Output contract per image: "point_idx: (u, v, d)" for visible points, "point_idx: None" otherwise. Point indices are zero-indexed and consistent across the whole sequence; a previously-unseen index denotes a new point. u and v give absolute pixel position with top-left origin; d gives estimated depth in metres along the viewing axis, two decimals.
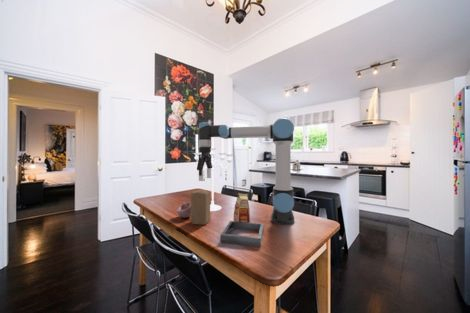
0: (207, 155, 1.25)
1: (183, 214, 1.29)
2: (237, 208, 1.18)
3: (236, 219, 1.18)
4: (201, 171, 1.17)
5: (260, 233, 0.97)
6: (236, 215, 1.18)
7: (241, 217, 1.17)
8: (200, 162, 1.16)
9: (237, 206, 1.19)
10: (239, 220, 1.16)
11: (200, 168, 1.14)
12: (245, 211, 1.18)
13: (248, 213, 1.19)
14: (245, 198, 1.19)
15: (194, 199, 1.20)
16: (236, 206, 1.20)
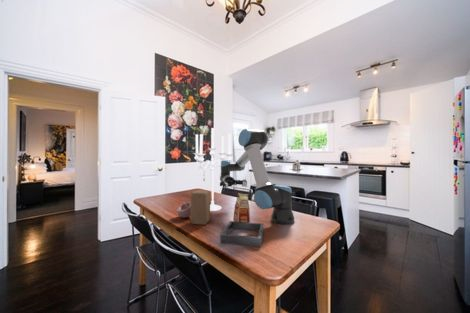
0: None
1: (183, 214, 1.29)
2: (237, 208, 1.18)
3: (236, 219, 1.18)
4: (223, 183, 1.33)
5: (260, 233, 0.97)
6: (236, 215, 1.18)
7: (241, 217, 1.17)
8: None
9: (237, 206, 1.19)
10: (239, 220, 1.16)
11: None
12: (245, 211, 1.18)
13: (248, 213, 1.19)
14: (245, 198, 1.19)
15: (194, 199, 1.20)
16: (236, 206, 1.20)
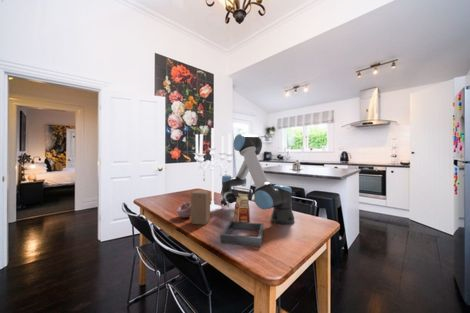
0: None
1: (183, 214, 1.29)
2: (237, 208, 1.18)
3: (236, 219, 1.18)
4: (225, 202, 1.30)
5: (260, 233, 0.97)
6: (236, 215, 1.18)
7: (241, 217, 1.17)
8: None
9: (237, 206, 1.19)
10: (239, 220, 1.16)
11: None
12: (245, 210, 1.18)
13: (248, 213, 1.19)
14: (245, 198, 1.19)
15: (194, 199, 1.20)
16: (236, 206, 1.20)
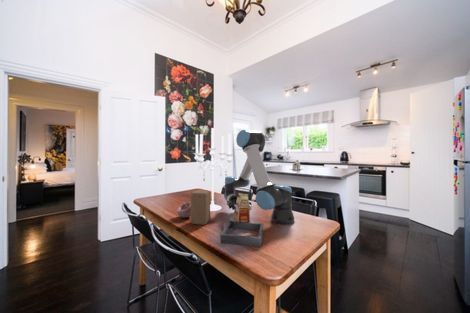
0: None
1: (183, 214, 1.29)
2: None
3: (236, 219, 1.18)
4: (233, 205, 1.20)
5: (260, 233, 0.97)
6: (236, 215, 1.18)
7: (241, 217, 1.17)
8: (228, 204, 1.25)
9: None
10: (239, 220, 1.16)
11: (229, 204, 1.21)
12: (245, 210, 1.18)
13: (248, 213, 1.19)
14: (245, 198, 1.19)
15: (194, 199, 1.20)
16: None
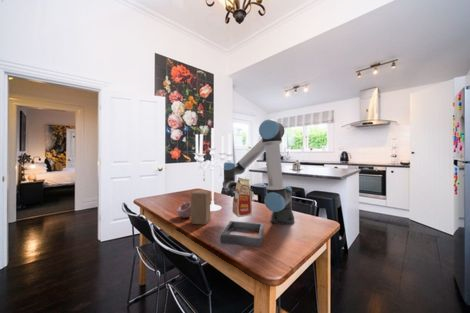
0: None
1: (183, 214, 1.29)
2: None
3: (235, 207, 1.01)
4: (232, 192, 1.04)
5: (260, 233, 0.97)
6: (235, 203, 1.02)
7: (241, 205, 1.00)
8: None
9: (237, 192, 1.02)
10: (239, 208, 0.99)
11: (227, 191, 1.05)
12: (246, 198, 1.01)
13: (249, 201, 1.02)
14: (246, 183, 1.03)
15: (194, 199, 1.20)
16: None
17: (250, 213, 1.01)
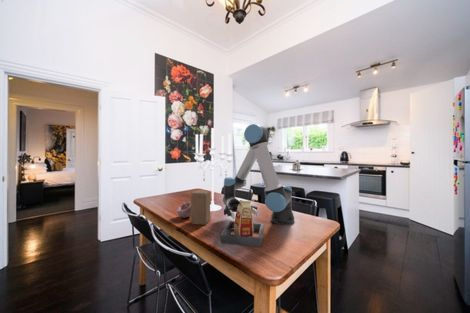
0: None
1: (183, 214, 1.29)
2: (238, 218, 1.01)
3: (237, 231, 1.00)
4: (229, 211, 1.03)
5: (260, 233, 0.97)
6: (237, 226, 1.01)
7: (243, 228, 0.99)
8: None
9: (238, 215, 1.01)
10: (241, 232, 0.98)
11: None
12: (248, 221, 1.00)
13: (251, 224, 1.01)
14: (248, 206, 1.02)
15: (194, 199, 1.20)
16: (237, 215, 1.02)
17: None
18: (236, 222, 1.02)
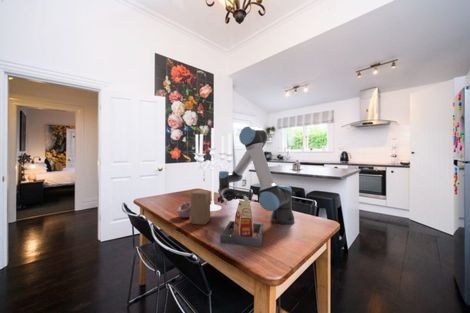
0: None
1: (183, 214, 1.29)
2: (238, 218, 1.01)
3: (237, 231, 1.00)
4: (222, 199, 1.16)
5: (260, 233, 0.97)
6: (237, 226, 1.01)
7: (243, 229, 0.99)
8: None
9: (238, 215, 1.01)
10: (240, 232, 0.98)
11: None
12: (247, 221, 1.00)
13: (251, 224, 1.01)
14: (247, 206, 1.02)
15: (194, 199, 1.20)
16: (237, 215, 1.02)
17: None
18: (236, 222, 1.02)
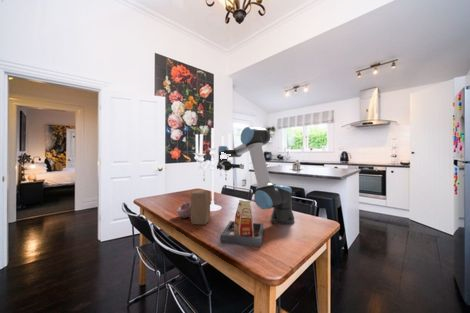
0: None
1: (183, 214, 1.29)
2: (238, 218, 1.01)
3: (237, 231, 1.00)
4: None
5: (260, 233, 0.97)
6: (237, 226, 1.01)
7: (243, 229, 0.99)
8: None
9: (238, 215, 1.01)
10: (240, 232, 0.98)
11: None
12: (247, 221, 1.00)
13: (251, 224, 1.01)
14: (247, 206, 1.02)
15: (194, 199, 1.20)
16: (237, 215, 1.02)
17: None
18: (236, 222, 1.02)
